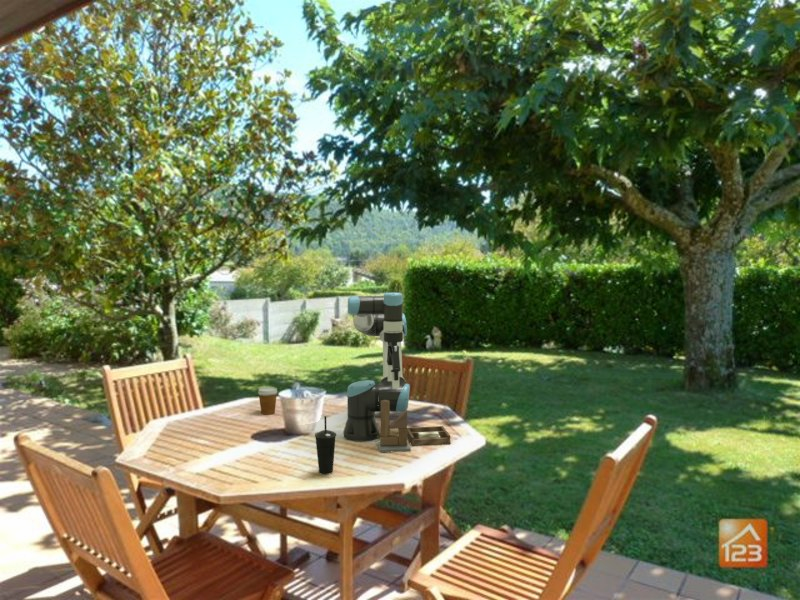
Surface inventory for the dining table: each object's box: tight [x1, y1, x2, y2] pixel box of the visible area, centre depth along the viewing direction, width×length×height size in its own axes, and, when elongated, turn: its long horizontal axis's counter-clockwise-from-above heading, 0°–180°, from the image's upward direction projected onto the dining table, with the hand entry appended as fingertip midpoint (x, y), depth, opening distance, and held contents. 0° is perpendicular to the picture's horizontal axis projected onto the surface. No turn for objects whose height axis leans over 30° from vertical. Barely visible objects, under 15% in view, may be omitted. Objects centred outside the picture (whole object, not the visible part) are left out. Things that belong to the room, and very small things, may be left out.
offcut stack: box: [418, 432, 440, 439], centre depth 240 cm, size 9×3×4 cm, turn 98°
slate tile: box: [376, 440, 412, 453], centre depth 234 cm, size 12×11×1 cm
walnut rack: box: [407, 425, 451, 447], centre depth 244 cm, size 16×14×4 cm
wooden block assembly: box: [379, 400, 408, 446], centre depth 234 cm, size 4×11×18 cm, turn 90°
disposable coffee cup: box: [257, 386, 278, 416], centre depth 286 cm, size 10×10×12 cm
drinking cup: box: [314, 416, 337, 475], centre depth 207 cm, size 8×8×20 cm
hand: (393, 384), depth 233 cm, fingers open, 13 cm apart
